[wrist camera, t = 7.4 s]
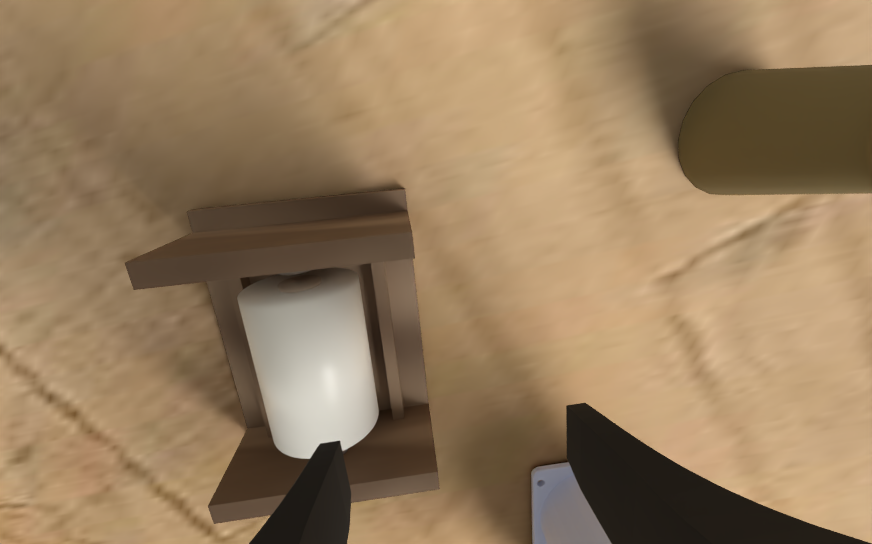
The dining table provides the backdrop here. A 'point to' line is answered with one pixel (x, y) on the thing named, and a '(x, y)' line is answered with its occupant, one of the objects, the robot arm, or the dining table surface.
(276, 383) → the roll
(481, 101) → the dining table surface
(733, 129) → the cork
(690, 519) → the robot arm
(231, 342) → the holder
